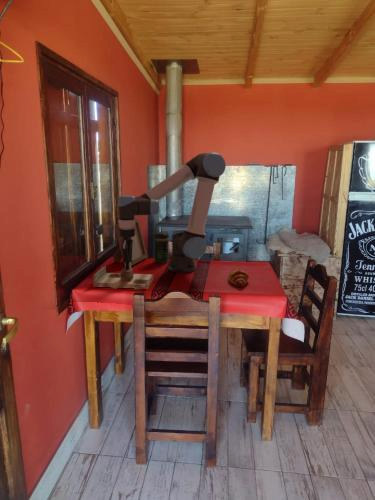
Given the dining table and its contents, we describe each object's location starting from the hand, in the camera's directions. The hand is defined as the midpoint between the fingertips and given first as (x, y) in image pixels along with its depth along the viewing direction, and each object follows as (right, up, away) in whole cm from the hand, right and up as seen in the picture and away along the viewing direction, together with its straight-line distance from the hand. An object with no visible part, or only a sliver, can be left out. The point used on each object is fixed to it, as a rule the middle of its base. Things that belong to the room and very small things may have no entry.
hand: (128, 274), depth 178 cm
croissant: (+55, -4, +4) cm, 56 cm away
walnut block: (0, -2, -3) cm, 4 cm away
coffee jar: (+14, +5, +40) cm, 42 cm away
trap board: (-2, -4, 0) cm, 5 cm away
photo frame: (-6, +5, +40) cm, 40 cm away
